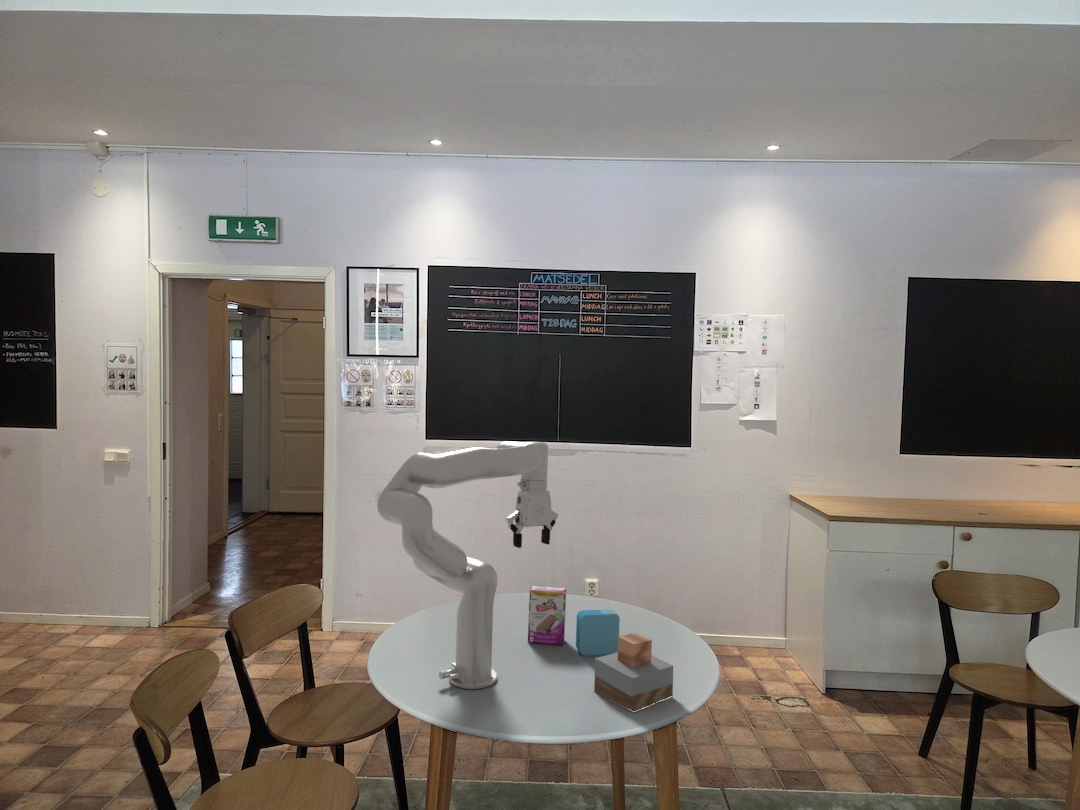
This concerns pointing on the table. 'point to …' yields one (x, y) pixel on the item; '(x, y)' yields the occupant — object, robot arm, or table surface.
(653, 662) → the tower top
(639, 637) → the stack block
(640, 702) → the tower bottom
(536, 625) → the candy bar box
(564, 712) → the table surface
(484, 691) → the table surface
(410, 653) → the table surface
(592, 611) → the blue rounded block
